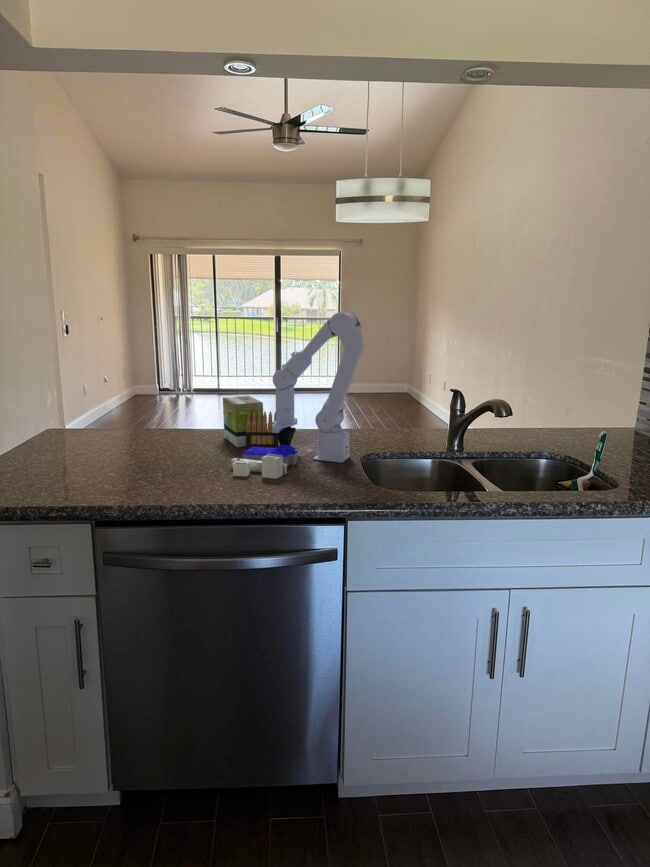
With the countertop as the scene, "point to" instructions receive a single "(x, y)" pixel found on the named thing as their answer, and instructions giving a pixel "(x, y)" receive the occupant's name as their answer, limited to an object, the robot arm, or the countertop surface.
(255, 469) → the rail
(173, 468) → the countertop surface
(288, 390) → the robot arm
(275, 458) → the block
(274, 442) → the ammunition clip
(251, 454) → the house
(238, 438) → the tea box
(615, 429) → the countertop surface
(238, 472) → the block
